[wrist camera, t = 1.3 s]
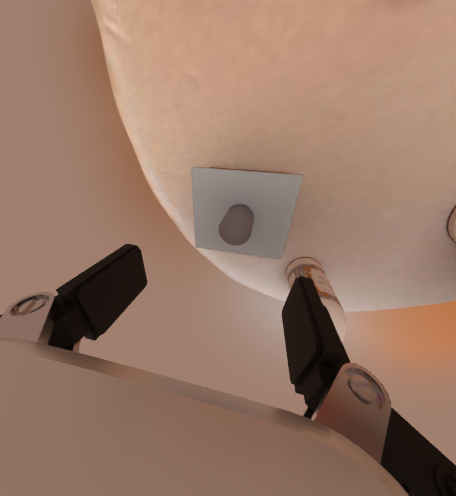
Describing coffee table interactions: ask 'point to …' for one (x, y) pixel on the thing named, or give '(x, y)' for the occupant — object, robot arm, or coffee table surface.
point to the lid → (243, 210)
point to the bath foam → (319, 289)
